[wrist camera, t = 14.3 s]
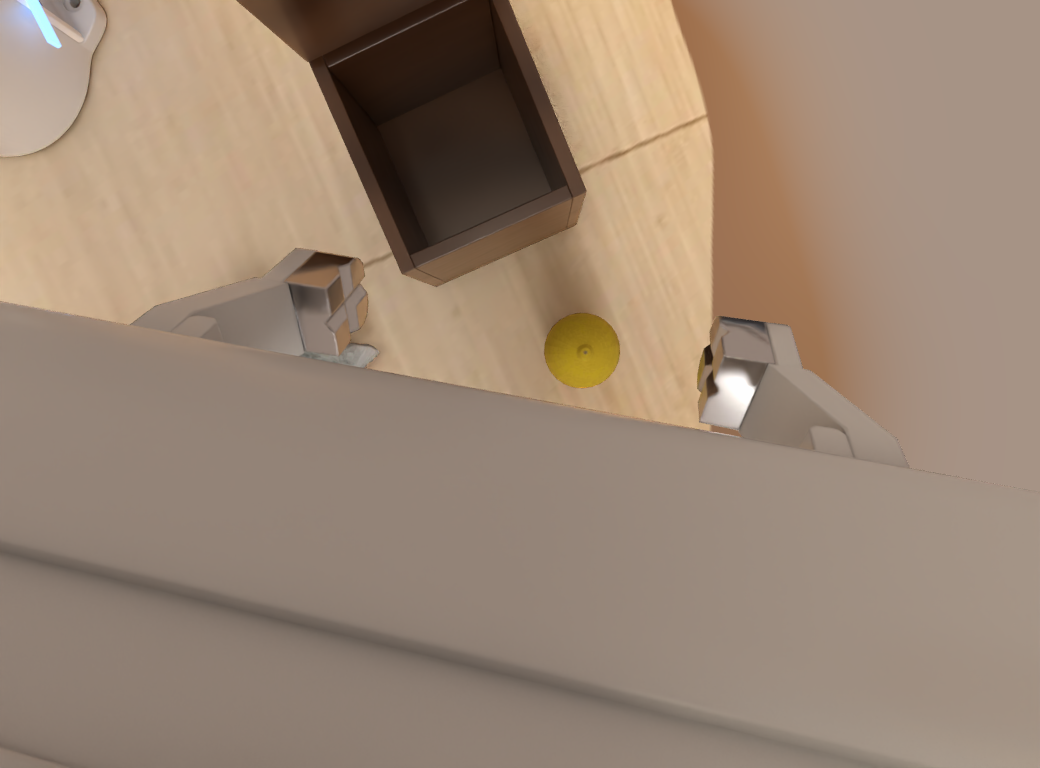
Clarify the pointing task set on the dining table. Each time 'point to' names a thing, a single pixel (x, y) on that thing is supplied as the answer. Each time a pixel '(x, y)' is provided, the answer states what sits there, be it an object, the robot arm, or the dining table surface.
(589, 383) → the lemon
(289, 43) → the chest lid
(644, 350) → the dining table surface
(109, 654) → the robot arm
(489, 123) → the chest
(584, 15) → the dining table surface
